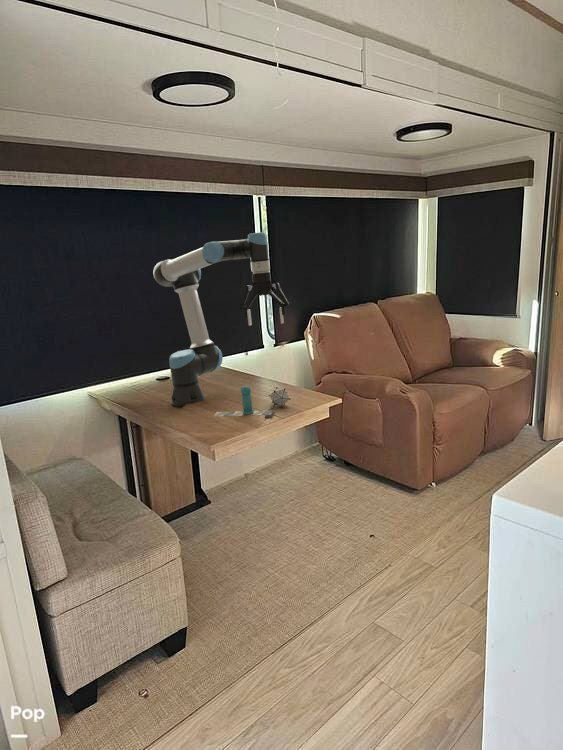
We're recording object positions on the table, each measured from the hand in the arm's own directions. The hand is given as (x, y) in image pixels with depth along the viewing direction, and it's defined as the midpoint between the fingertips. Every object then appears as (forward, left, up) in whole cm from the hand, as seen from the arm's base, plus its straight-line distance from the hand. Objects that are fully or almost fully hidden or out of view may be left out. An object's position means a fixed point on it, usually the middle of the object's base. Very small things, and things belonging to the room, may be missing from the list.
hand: (266, 324), depth 207 cm
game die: (+3, -3, -35) cm, 35 cm away
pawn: (-8, -15, -33) cm, 37 cm away
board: (-10, -15, -35) cm, 39 cm away
